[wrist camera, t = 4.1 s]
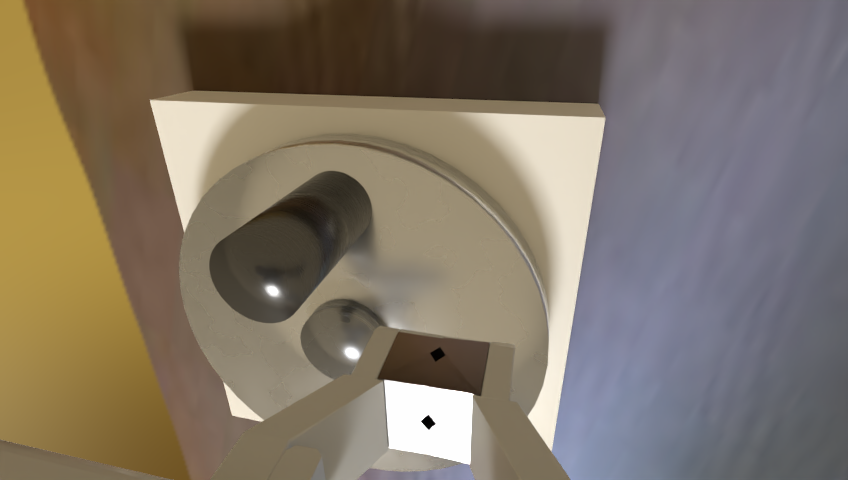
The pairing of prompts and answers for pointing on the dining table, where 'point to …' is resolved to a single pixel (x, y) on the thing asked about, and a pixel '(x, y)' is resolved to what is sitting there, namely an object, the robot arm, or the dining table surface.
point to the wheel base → (432, 133)
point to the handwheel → (353, 270)
